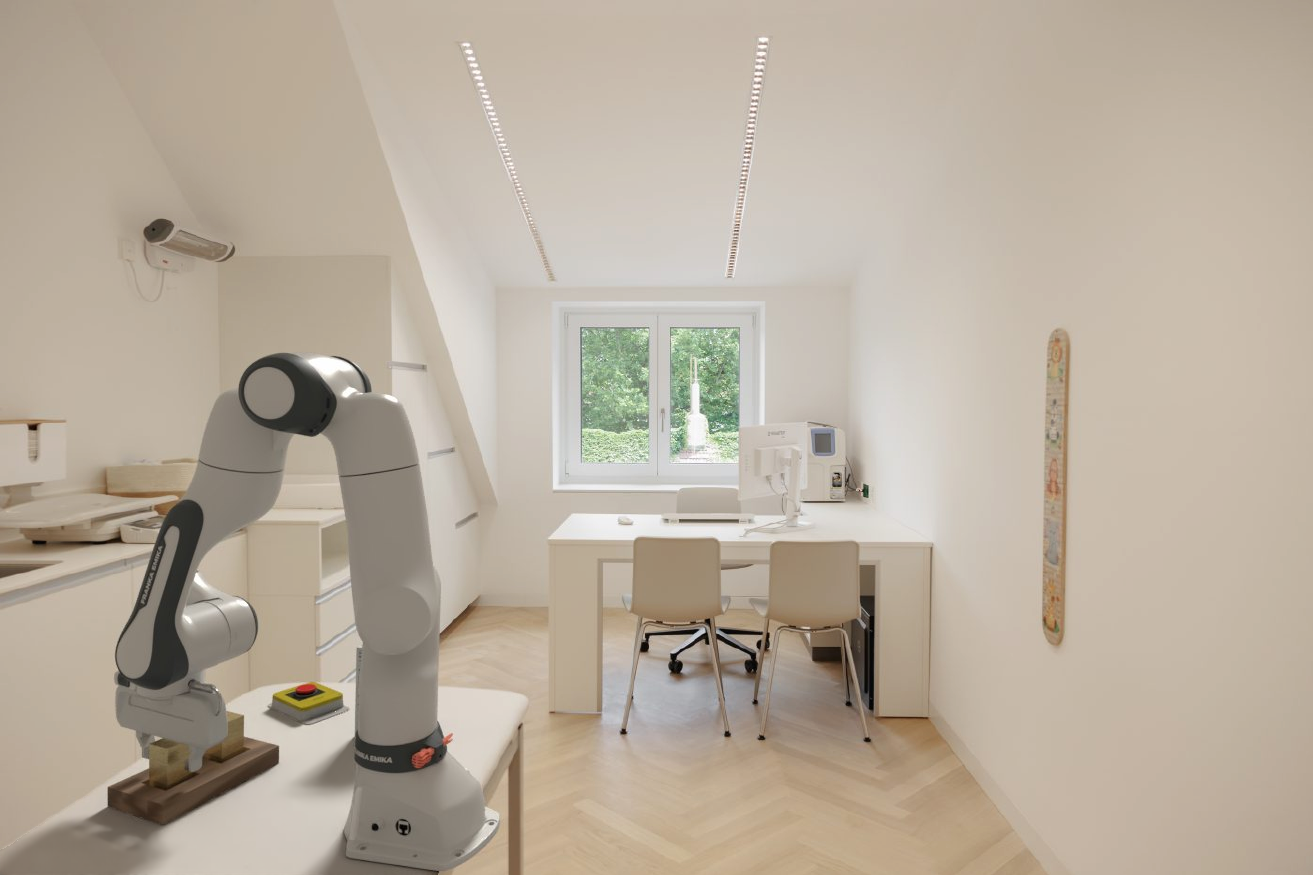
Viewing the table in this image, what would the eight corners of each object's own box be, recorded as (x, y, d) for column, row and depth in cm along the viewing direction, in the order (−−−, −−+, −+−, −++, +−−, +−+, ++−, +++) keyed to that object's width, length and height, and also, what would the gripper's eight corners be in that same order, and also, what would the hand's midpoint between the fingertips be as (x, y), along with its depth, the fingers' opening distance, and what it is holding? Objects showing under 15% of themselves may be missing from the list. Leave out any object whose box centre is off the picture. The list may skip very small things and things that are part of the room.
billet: (192, 794, 113) (192, 737, 112) (167, 807, 109) (167, 749, 109) (174, 788, 114) (174, 733, 114) (149, 801, 110) (149, 743, 110)
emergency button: (309, 673, 153) (352, 690, 145) (309, 693, 153) (351, 712, 145) (265, 686, 145) (308, 705, 137) (265, 708, 146) (307, 728, 137)
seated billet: (243, 767, 121) (244, 715, 121) (221, 778, 118) (222, 724, 117) (226, 762, 123) (226, 710, 122) (204, 773, 119) (204, 720, 119)
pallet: (278, 762, 123) (279, 745, 123) (162, 825, 104) (162, 804, 104) (227, 748, 127) (228, 732, 127) (107, 806, 109) (107, 787, 109)
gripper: (239, 679, 110) (238, 767, 111) (147, 658, 117) (147, 742, 118) (200, 694, 104) (200, 787, 105) (106, 671, 111) (106, 759, 112)
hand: (171, 763), depth 112 cm, fingers open, 8 cm apart
